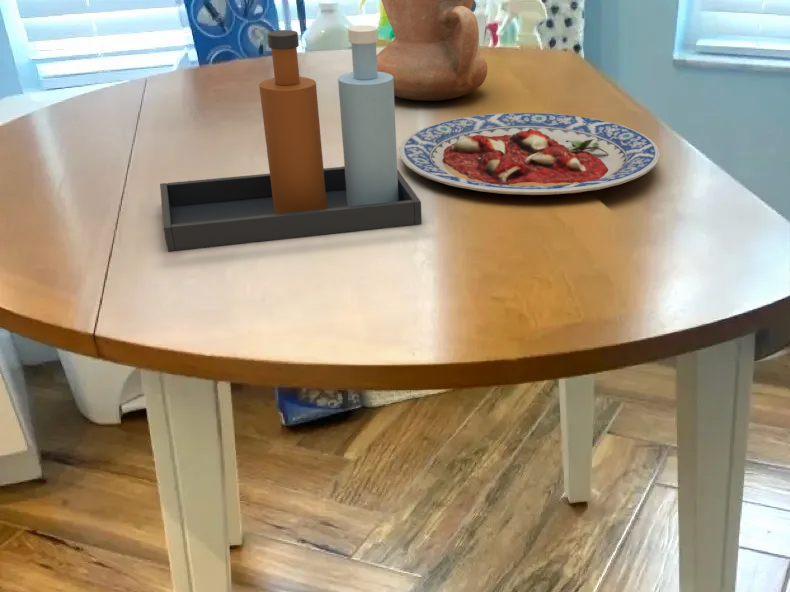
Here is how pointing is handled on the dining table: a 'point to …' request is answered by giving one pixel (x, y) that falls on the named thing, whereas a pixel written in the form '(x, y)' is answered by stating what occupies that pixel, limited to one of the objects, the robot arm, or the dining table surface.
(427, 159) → the ceramic plate
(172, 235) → the tray
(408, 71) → the ceramic jug
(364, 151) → the pale blue bottle
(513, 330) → the dining table surface
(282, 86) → the amber bottle
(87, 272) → the dining table surface
